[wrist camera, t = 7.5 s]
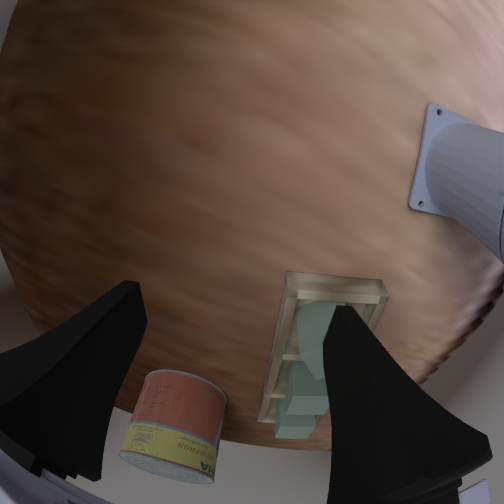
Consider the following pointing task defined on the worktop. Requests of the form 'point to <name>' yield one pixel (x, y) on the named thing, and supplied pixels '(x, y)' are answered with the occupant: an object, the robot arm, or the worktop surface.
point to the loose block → (314, 333)
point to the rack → (286, 335)
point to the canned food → (176, 427)
